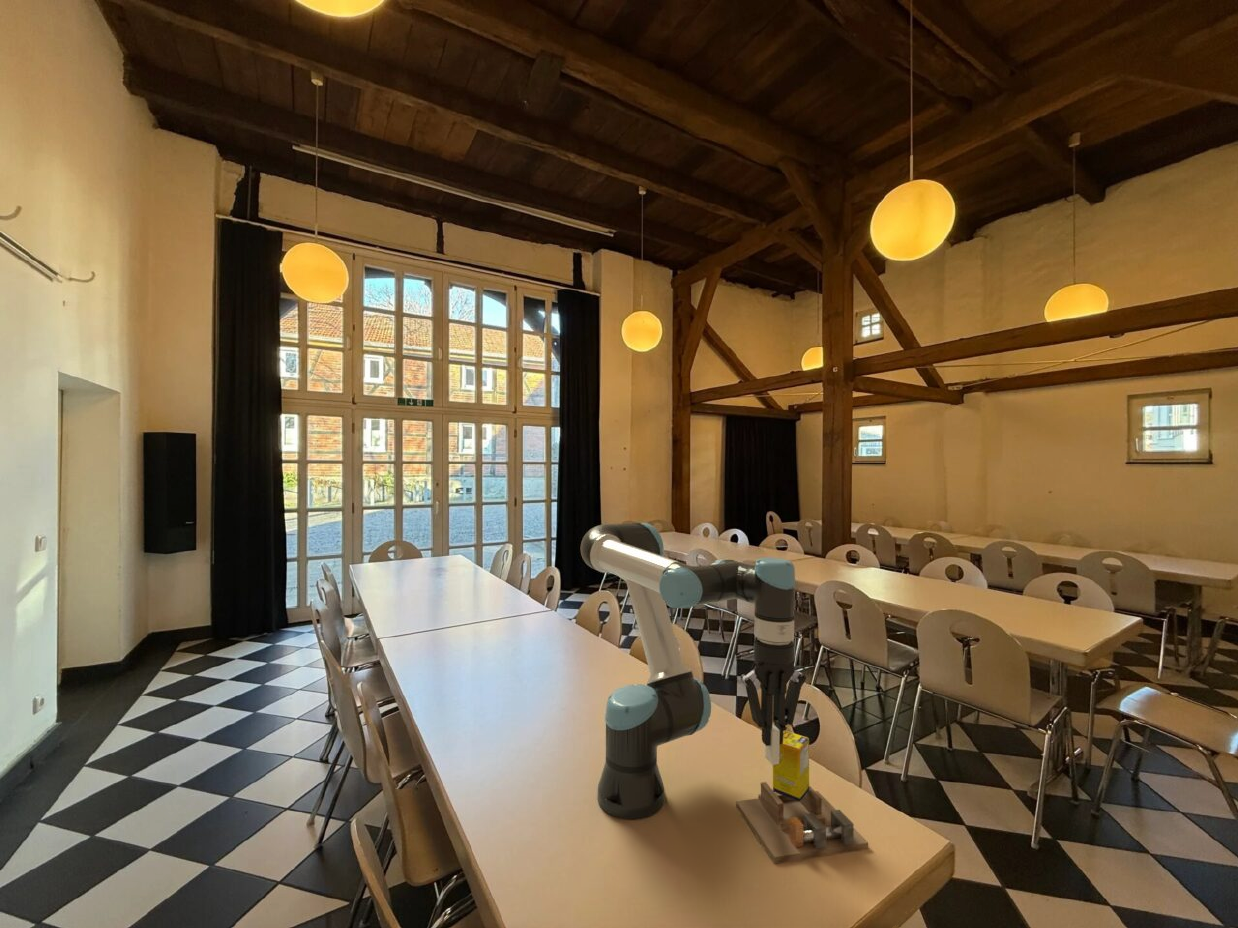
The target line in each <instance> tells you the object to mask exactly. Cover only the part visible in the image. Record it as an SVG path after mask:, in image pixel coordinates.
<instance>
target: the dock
mask: <svg viewBox="0 0 1238 928" xmlns="http://www.w3.org/2000/svg"><path fill="white" fill-rule="evenodd" d="M757 797H758V798H753V799H744V800H736V801H735V808H736V809H737V811H738V813H739V814H740V815H741V817H742V818H743V820H744V821H745V823H746V824H747V825H748V827H749V828H750V830H751V832H752V833H753V834H754V835H755V837H756V838H757V840H758V842H759V843H760V844H761V846H762V848H763V849H764V851H765V852H766V853H767V855H768V856H769V858H770V860H771V861H772V862H773V864H775V865H776V864H779V863H780V864H782V863H787V862H794V861H800V860H806V859H812V858H820V857H826V856H833V855H838V854H843V853H851V852H857V851H864V850H868V849H869V842H868V840H867V839H865V837H864V836H862V835H861V834H860V833H859V832H858V831H857V829H856V828H855V827H854V822H852V821H851V819H849V817H848V816H846V815H845V814H844V813H843V812H842V811H841V809H836V808H835V807H834V805H832V804H831V803H830V802H829V801H828V799H826V798H825V796H824V795H822V794H821V793H820V791H818V790H815V789H814V788H812V786H811V785H809V790H808V791H807V793H806V794H805V796H804V797H803V798H802V800H801V801H800V802H799V801H796V800H793V799H791V798H789V797H786V796H784V795H781V794H779V793H776V792H774V791H773V788H772V787H771V786H770V785H769V784H768V783H767V781H762V782H760V793H759V794H758V796H757ZM794 817H797V818H798V819H799V820H800V822H801V823H802V824H803V831H806V830H814V841H811V842H804V843H803V846H802V847H795V846H794V844H793V843H792V842H791V840H790V839H789V818H794ZM840 825H841V837H837V838H831V839H826V828H827V827H834V826H840Z"/></svg>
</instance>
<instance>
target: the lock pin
mask: <svg viewBox="0 0 1238 928" xmlns="http://www.w3.org/2000/svg"><path fill="white" fill-rule="evenodd" d="M837 837H841V825H840V826H834V827H827V828H826V839H831V838H837ZM789 839H790V840H791V842H792V843H793V844H794V846H795V847H802V846H803V843H804V842H811V841H814V830H806V831H803V824H802V823H801V822H800V820H799V819H798V818H797V817H794V818H789Z"/></svg>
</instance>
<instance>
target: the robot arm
mask: <svg viewBox="0 0 1238 928" xmlns="http://www.w3.org/2000/svg"><path fill="white" fill-rule="evenodd" d="M663 550H664V542H663V538H662V536H661V534H660V533H659V531H658V529H656V528H655V526H653V525H651V523H647V522H638V521H634V522H627V523H626V522H625V523H624V522H623V523H610V524H609V523H604V524H599V525H596V526H594V527H592V528H590V529H589V530H588V531H587V532H586V533H585V534H584V536H583V537H582V540H581V543H580V554H581V557H582V560H583V561H584V563H585V564H586V565H587V566H588V567H590V568H591V569H593V570H595V571H598V572H599V573H603V574H604V573H606V574H607V573H612V574H615V575H617V576H618V577H619V578H620V579H622V580H623V581H624V582H625V583H626V588H627V590H628V594H629V595H628V596H629V599H630V601H631V602H630V603H631V606H632V610H633V613H634V616H635V617H634V618H635V621H636V625H637V629H638V632H639V636H640V639H641V642H642V643H641V644H642V648H643V652H644V655H645V658H646V662H647V666H648V669H649V674H650V675H649V677H648V679H647V681H646V684H639V683H638V684H635V685H634V684H628V685H625V686H621V687H619V688H617V689H616V690H614V691H613V692H612V693H611V694H610V695H609V696H608V699H607V701H606V706H605V714H604V721H605V762H604V766H603V769H602V773H601V775H600V778H599V781H598V785H597V803H598V805H599V806H600V808H601V809H602V810H604V812H605V813H608V814H609V815H611V816H613V817H616V818H620V819H624V820H625V819H626V820H641V819H645V818H649V817H651V816H653V815H655V814H657V813H658V812H659V811H660V810H661V809H662V807H663V806H664V805H665V795H666V793H665V791H666V790H665V785H664V783H663V782H664V781H663V778H662V775H661V772H660V770H659V769H660V768H659V766H658V759H657V758H658V746H661V745H663V744H667V743H669V742H672V741H675V740H678V739H680V738H684V737H688V736H692V735H694V734H695V733H697V732H700V731H701V730H703V729H704V728H705V727H706V726H707V725H708V723H709V721H710V720H709V718H710V717H711V715H712V714H711V713H712V700H711V696H710V692H709V690H708V688H707V687H706V685H705V684H704V683H703V682H702V680H700V679H698V678H695V677H694V675H693V671H692V669H690V668H688V667H687V666H686V665H684V662H683V658H682V655H681V651H680V648H679V644H678V642H677V638H676V635H675V631H674V627H673V624H672V619H671V617H670V614H669V611H668V607H670V608H672V609H681V608H682V609H690V608H692V607H697V606H701V605H707V604H712V603H713V604H714V603H718V602H726V601H729V600H730V601H731V600H740V601H744V602H748V603H750V604H754V622H753V623H754V627H753V628H754V630H753V631H754V632H753V635H754V636H755V638H754V639H753V641H754V642H753V659H754V662H753V664H752V666H751V670H750V672H748V673H747V674H745V673H743V674H741V675H740V680H741V681H742V683H743V684H744V686H745V690H746V691H745V692H746V695H747V700H748V704H749V709H750V713H751V719H752V722H754V724H755V725H757V727H758V728H761V741H762V743H763V744H764V745H765V756H764V757H765V759H766V760H767V761H768V762H769V763H770V764H771V766H773V765H776V764H779V744H782V743H783V731H785V730H786V731H787V726H788V725H789V726H791V725H793V723H794V720H795V716H796V711H797V707H798V703H799V698H800V694H801V689H802V687H803V685H804V683H805V681H806V680H807V677H806V675H804V673H802V672H801V671H799V670H796V667H795V665H794V660H795V643H794V642H793V641H794V639H795V603H796V602H795V601H796V600H795V599H796V586H797V582H796V570H795V565H794V563H793V562H792V561H790V560H788V559H784V558H777V557H761V558H758V559H756V561H755V564H750V563H749V564H748V563H745V562H741V561H737V560H735V559H724V558H720V559H716V560H715V561H714V562H712V563H711V564H705V565H695V566H694V565H689V564H686V563H683V562H680V561H677V560H674V559H671V558H669V557H666V556H663V554H664V551H663ZM667 606H668V607H667ZM756 679H757V680H758V682H759V683H760V685H759V687H760V689H761V692H760V693H761V694H760V695H761V696H760V699H759V694H758V689H757V687H756V685H757V680H756ZM787 684H788V685H787ZM760 700H761V701H760Z"/></svg>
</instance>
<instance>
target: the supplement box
mask: <svg viewBox="0 0 1238 928" xmlns="http://www.w3.org/2000/svg"><path fill="white" fill-rule="evenodd" d="M809 786H810V738H809V737H808V736H804V735H800V734H798V733H794V732H791V731H789V730H787V729H786V730H785V731H783V743H782V744H779V764H776V765H772V790H773V791H774V792H776V793H779V794H781V795H784V796H786V797H789V798H791V799H793V800H796V801H799V802H800V801H801V800H802V798H803V797H804V796H805V794H806V793H807V791H808V790H809Z"/></svg>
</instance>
